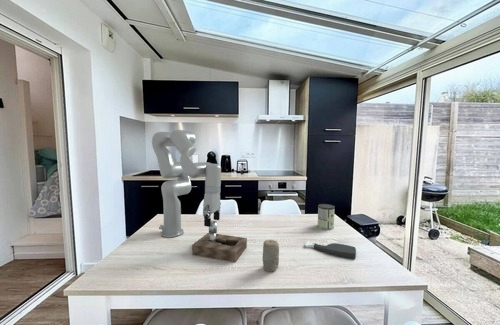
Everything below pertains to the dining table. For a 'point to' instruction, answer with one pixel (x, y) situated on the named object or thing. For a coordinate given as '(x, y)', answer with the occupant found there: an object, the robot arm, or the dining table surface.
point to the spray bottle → (334, 249)
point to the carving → (270, 255)
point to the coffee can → (326, 216)
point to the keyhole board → (220, 247)
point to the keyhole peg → (213, 231)
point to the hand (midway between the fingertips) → (212, 222)
